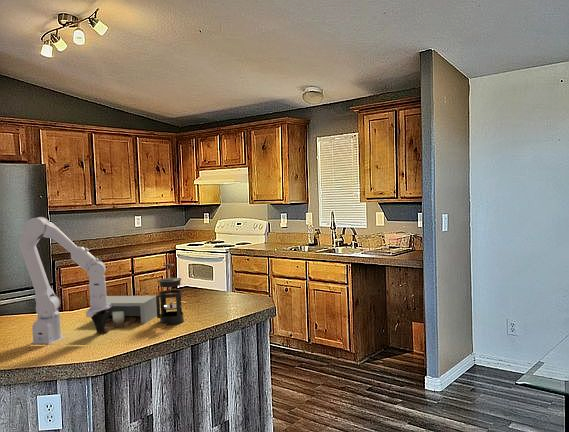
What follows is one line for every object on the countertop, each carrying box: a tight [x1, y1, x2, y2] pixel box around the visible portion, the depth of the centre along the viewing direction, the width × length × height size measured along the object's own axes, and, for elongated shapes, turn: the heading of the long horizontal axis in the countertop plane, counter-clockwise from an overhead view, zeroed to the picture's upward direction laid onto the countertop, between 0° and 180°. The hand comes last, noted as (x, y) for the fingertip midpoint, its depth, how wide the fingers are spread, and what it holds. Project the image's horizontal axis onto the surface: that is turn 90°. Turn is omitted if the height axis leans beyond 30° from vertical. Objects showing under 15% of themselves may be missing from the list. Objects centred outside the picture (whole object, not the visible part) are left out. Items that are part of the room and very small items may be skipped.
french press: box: [155, 263, 185, 326], centre depth 203 cm, size 12×9×23 cm
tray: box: [96, 317, 137, 334], centre depth 199 cm, size 17×11×2 cm, turn 171°
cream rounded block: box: [112, 310, 126, 324], centre depth 203 cm, size 4×4×4 cm
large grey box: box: [91, 295, 157, 325], centre depth 209 cm, size 13×22×9 cm, turn 81°
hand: (100, 331), depth 189 cm, fingers closed
